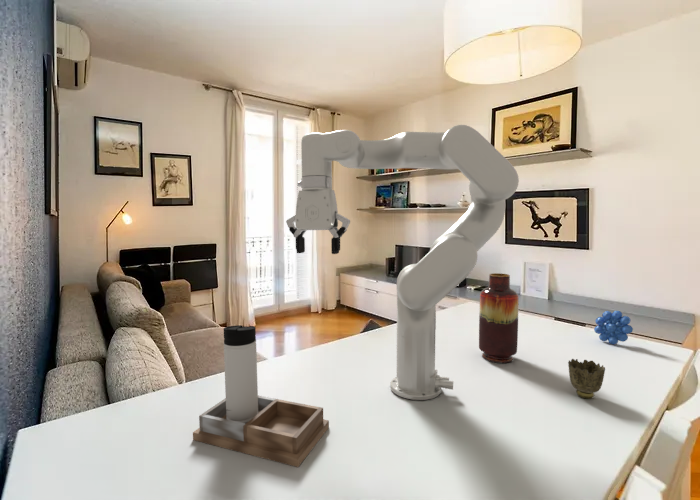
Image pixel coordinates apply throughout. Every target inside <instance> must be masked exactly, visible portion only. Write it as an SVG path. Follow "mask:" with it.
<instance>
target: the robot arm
mask: <svg viewBox="0 0 700 500" xmlns="http://www.w3.org/2000/svg"><path fill="white" fill-rule="evenodd" d="M300 143H301V178H300V181H297V184H296V185H297V187H300V189H301V190H298V193H297V198H296V204H295V205H296V206H295V214H294V215H293V216H292V217H290V218H287V220H286V221H285V223H286V225H287V227H288V229H289V232H290V233H291V234H292V236H293V237H294V238H295V250H296V254H303V253H305V252H306V251H305V250H306V249H305V248H306V247H305V246H306V245H305V244H306V243H305V242H306V241H305V240H306V239H305V237H304V235H305V234H306V232H307V231H329V232H330V234H331V235H332V237H331V246H330V247H331V254H332V255H337V254H339V253H340V251H341V238H342V237H343V235H344V234H345V233H346V232H347V231H348V228H349V225H350V224H351V220H350V219H349V218H347V217H345V216H343V215H341V214H340V213H338V203H337V197H336V192H335V190H333V173H332V172H333V170H332V169H333V162H337V163H338V164H340V165H341V166H343V167H345V168H348V169H360V170H361V169H362V170H363V169H364V170H365V169H366V170H383V169H385V170H386V169H387V170H389V169H391V170H392V169H393V170H395V169H396V170H397V169H428V170H458V171H460V172H461V174H462V175H464V176H465V178H467V180H468V181H469V185H468V187H469V188H468V190H469V195H470V203H469V207H468V209H467V210H466V211H465V212H464V214H462V216H460V217H459V218H458V220H457V221H456V222H455V223H454V224H453V225H451V227H449V229H447V230H446V231H445V232H444V233H443V234H442V235H440V236H439V237H438V238H436V239H435V240H434V242H433V243H432V244H431V246H430V248H429V251H428V253H426V254H425V256H423V257H422V258H421V259H420V260H419V261H418V262H417V263H412V264H409V265H406V266H404V267H403V268H402V270H400V272H399V274H398V276H397V278H396V377H394V378H393V379H391V381H390V390H391V391H392V392H393V394H395V395H397V396H399V397H401V398H404V399H406V400H413V401H427V400H432V399H434V398H437V397H438V396H439V395H440V394H441V393H442V388H443V389H447V390H454V381H453V380H450V377H448V376H440V375H438V369H436V330H437V325H436V323H437V320H436V319H437V314H436V313H437V312H436V311H437V308H436V307H437V306H436V305H438V304H439V303H440V302H441V301H442V300H443V299H444V298H446V296H448V294H450V293H451V292H452V291H453V290H454V289H455V288H457V286H459V285H460V284H461V282H463V281H464V280H465V279H466V278H468V276H469V275H470V274H471V273H472V271H473V270H474V269H475V267H476V266H477V262H478V251H480V250H481V248H482V247H484V246H485V245H486V244H487V243H488V242H489V240H491V239H492V237H494V235H495V234H496V233H497V232H498V230H499V229H500V227H501V226H502V224H503V222H504V218H505V213H506V200H508V199H509V198H511V197H512V196H513V195H514V194H515V192H516V191H517V189H518V187H519V182H520V180H519V179H520V178H519V175H518V172H517V170H516V169H515V167H514V165H513V164H512V163H511V162H510V161H509V160H508V159H507V158H506V157H505V156H504V155H503V154H502V153H501V152H500V151H499V150H497V149H496V147H495V146H494V145H493V144H491V142H490V141H489V140H488V139H486V138H485V137H484V136H483V135H482V134H481V133H480V132H479V131H478V130H476V129H475V128H473V127H472V126H470V125H467V124H456V125H453V126H452V127H450V128H449V129H447V131H446V132H443V131H442V132H437V131H436V132H434V131H404V132H400V133H398V134H395V135H394V136H392V137H389V138H385V139H380V140H378V139H377V140H366V139H364V140H363V139H361V138H360V137H359V135H358V134H357V133H356V132H354V131H353V130H349V129H342V130H341V129H340V130H335V131H331V132H325V133H322V132H311V133H306V134H304V135H303V136H302V138H301V142H300ZM339 222H341V223H342V224H341V227H339V228H338V226H339Z"/></svg>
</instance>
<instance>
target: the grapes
mask: <svg viewBox="0 0 700 500" xmlns="http://www.w3.org/2000/svg"><path fill="white" fill-rule="evenodd" d="M594 321H595V324H596V326H595V327H594V333H596V334H598V338H599V340H600V341H602V342H608V343H609V344H610V345H616V344H618V343H619V342H622V343H623V342H626V341H628V339H629V336H628V335H629V334H630V335H631V334H632V332H633V330H634V328H633V326H632V325H629V324H630V323H631V318H630V316H627V315H623V313H622V312H621V310H614V311H613V312H612V311H609V310H606V311H604V312H602V315H601V316H598V317H597V318H596V319H595V320H594Z"/></svg>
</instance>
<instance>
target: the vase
mask: <svg viewBox="0 0 700 500" xmlns="http://www.w3.org/2000/svg"><path fill="white" fill-rule="evenodd" d="M488 276H489V277H488V278H489V279H488V287H485V288H484V289H482V290H481V291H480V293H479V313H478V314H479V316H478V319H479V320H478V322H479V323H478V348H479V350H481V352H483V353H482V354H481V357H482V358H483V359H484V360H486V361H488V362H491V363H494V364H495V363H497V364H509V363H510V364H511V363H512V362H513V361H514V357H513V356H514V355H516V354H517V352H518V338H519V337H518V334H519V302H520V301H519V298H520V297H519V294H518V293H517V291H515V290H514V289H512V288H511V285H510V284H511V282H510V281H511V279H510V278H511V277H510V276H511V275H510V274H508V273H501V272H499V273H497V272H496V273H494V272H493V273H489V275H488Z"/></svg>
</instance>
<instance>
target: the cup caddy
mask: <svg viewBox="0 0 700 500" xmlns="http://www.w3.org/2000/svg"><path fill="white" fill-rule="evenodd" d="M226 416H227V415H226V397H225V398H224V399H222V400H221V401H219V402H217V403H216V404H215V405H214V406H211V407H210V408H209V409H207V410H205V411H204V412H203V413H201V414H199V416H198V419H199V420H198V421H199V425H198V426H199V427H198V428H197V429H195V430H194V431H192V441H196V442H200V443H204V444H207V445H211V446H214V447H215V446H216V447H219V448H222V449H227V450H231V451H234V452H238V453H242V454H247V455H250V456H253V457H258V458H261V459H265V460H268V461H269V460H270V461H273V462H275V463H276V462H277V463H281V464H285V465H288V466H291V467H297V468H299V467H300V465H301V464H302V463H304V461H305V459H306V458H307V457H308V455H309V454H311V451H312V450H313V449H314V448H315V446H317V444H318V442H319V441H320V440H321V439H322V438H323V436H324V434H325V433H326V432H327V431H328V430H329V428H330V426H329V425H330V420H327V419H324V407H321V406H317V405H311V404H305V403H299V402H295V401H291V400H290V401H288V400H284V399H278V398H274V397H273V398H272V397H269V396H262V395H258V414H257V415H256V416H255V417H253V418H252V419H251V420H250V421H249V422H247V423H246V424H245V423H241V422H236V421H232V420H227V419H226Z"/></svg>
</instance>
